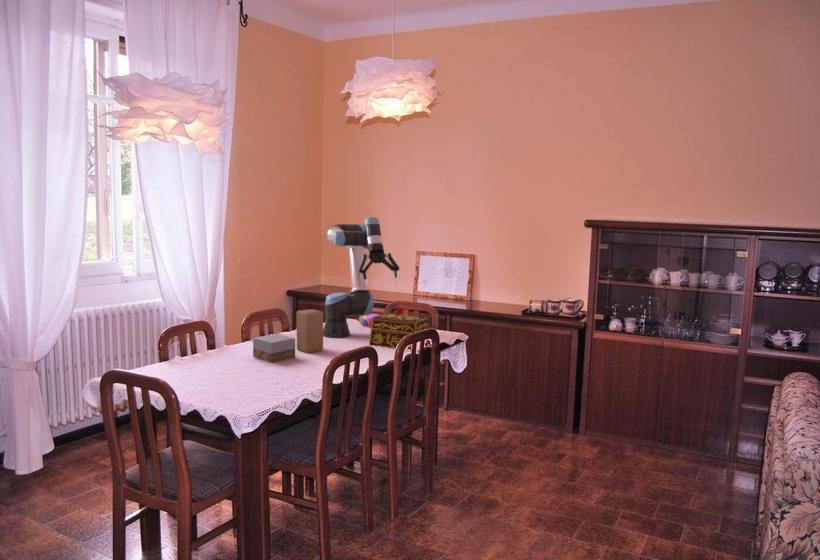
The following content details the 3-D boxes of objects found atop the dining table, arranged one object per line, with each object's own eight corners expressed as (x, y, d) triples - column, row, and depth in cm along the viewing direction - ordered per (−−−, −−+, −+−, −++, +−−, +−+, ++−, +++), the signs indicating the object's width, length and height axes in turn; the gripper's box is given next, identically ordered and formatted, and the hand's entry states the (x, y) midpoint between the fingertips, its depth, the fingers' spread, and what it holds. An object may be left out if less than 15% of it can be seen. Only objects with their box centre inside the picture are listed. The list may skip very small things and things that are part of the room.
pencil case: (356, 325, 395) (356, 311, 394) (368, 324, 401) (369, 309, 400) (379, 332, 378) (379, 316, 377) (391, 330, 385) (391, 314, 384)
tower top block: (253, 348, 312) (253, 338, 312) (277, 343, 323) (277, 333, 322) (271, 353, 303) (271, 342, 303) (295, 348, 314) (295, 338, 313)
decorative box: (368, 345, 344) (369, 317, 342) (385, 339, 361) (385, 312, 359) (416, 351, 332) (417, 322, 330) (431, 344, 349) (431, 316, 347)
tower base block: (253, 358, 313) (253, 348, 312) (277, 353, 324) (276, 343, 323) (271, 364, 304) (271, 353, 303) (295, 358, 314) (295, 348, 314)
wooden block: (312, 347, 337) (312, 308, 335) (324, 350, 330) (324, 311, 328) (295, 350, 330) (295, 310, 328) (307, 353, 323) (307, 313, 321)
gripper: (352, 243, 324) (357, 282, 316) (401, 241, 331) (407, 279, 322) (349, 250, 331) (355, 288, 322) (398, 248, 337) (404, 286, 329)
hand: (381, 284), depth 322 cm, fingers open, 13 cm apart
